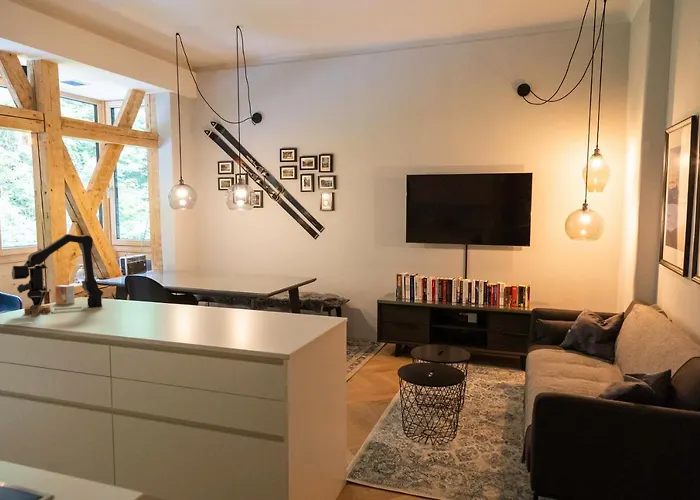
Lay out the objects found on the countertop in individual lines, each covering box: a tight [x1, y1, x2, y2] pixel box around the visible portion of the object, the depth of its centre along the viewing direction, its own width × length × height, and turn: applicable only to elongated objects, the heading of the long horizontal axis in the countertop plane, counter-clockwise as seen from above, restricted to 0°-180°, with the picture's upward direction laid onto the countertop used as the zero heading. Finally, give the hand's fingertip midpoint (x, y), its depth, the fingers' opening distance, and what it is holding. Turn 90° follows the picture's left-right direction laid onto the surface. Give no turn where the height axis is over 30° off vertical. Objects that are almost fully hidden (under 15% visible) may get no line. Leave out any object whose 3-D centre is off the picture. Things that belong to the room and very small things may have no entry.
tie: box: [30, 304, 39, 310], centre depth 249 cm, size 3×7×2 cm, turn 24°
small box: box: [54, 284, 76, 305], centre depth 285 cm, size 8×6×10 cm
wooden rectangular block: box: [24, 304, 52, 313], centre depth 258 cm, size 11×4×4 cm, turn 114°
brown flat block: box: [21, 304, 53, 317], centre depth 257 cm, size 12×14×4 cm
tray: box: [50, 305, 85, 314], centre depth 264 cm, size 14×10×1 cm
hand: (38, 307), depth 258 cm, fingers open, 9 cm apart
